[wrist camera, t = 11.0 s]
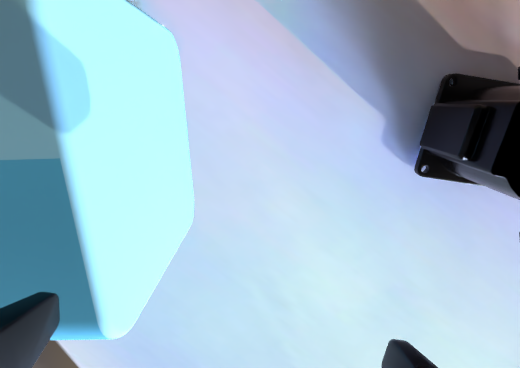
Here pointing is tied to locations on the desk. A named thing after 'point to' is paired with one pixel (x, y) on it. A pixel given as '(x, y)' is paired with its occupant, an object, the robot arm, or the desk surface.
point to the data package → (90, 160)
